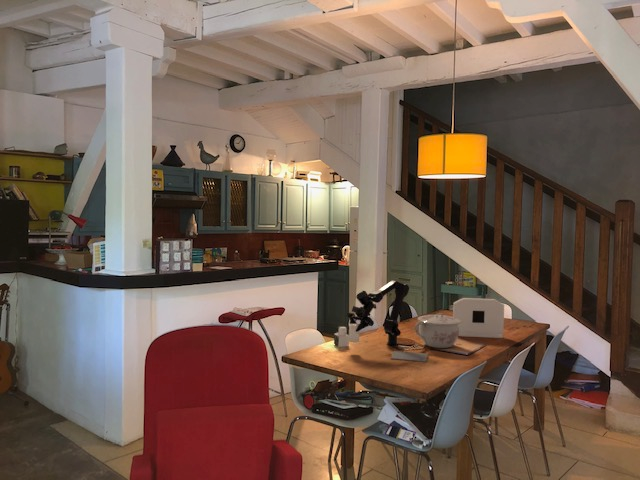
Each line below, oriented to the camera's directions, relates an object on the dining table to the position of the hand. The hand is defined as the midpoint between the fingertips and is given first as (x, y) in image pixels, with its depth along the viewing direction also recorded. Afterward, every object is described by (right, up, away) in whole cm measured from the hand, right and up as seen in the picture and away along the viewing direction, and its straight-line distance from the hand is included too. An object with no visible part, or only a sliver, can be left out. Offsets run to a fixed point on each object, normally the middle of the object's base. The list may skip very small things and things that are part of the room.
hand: (352, 330), depth 310 cm
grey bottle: (-6, -13, +17) cm, 22 cm away
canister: (+1, -7, +1) cm, 7 cm away
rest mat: (+33, -14, -5) cm, 36 cm away
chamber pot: (+55, -14, +22) cm, 61 cm away
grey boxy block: (+89, -12, +59) cm, 108 cm away
